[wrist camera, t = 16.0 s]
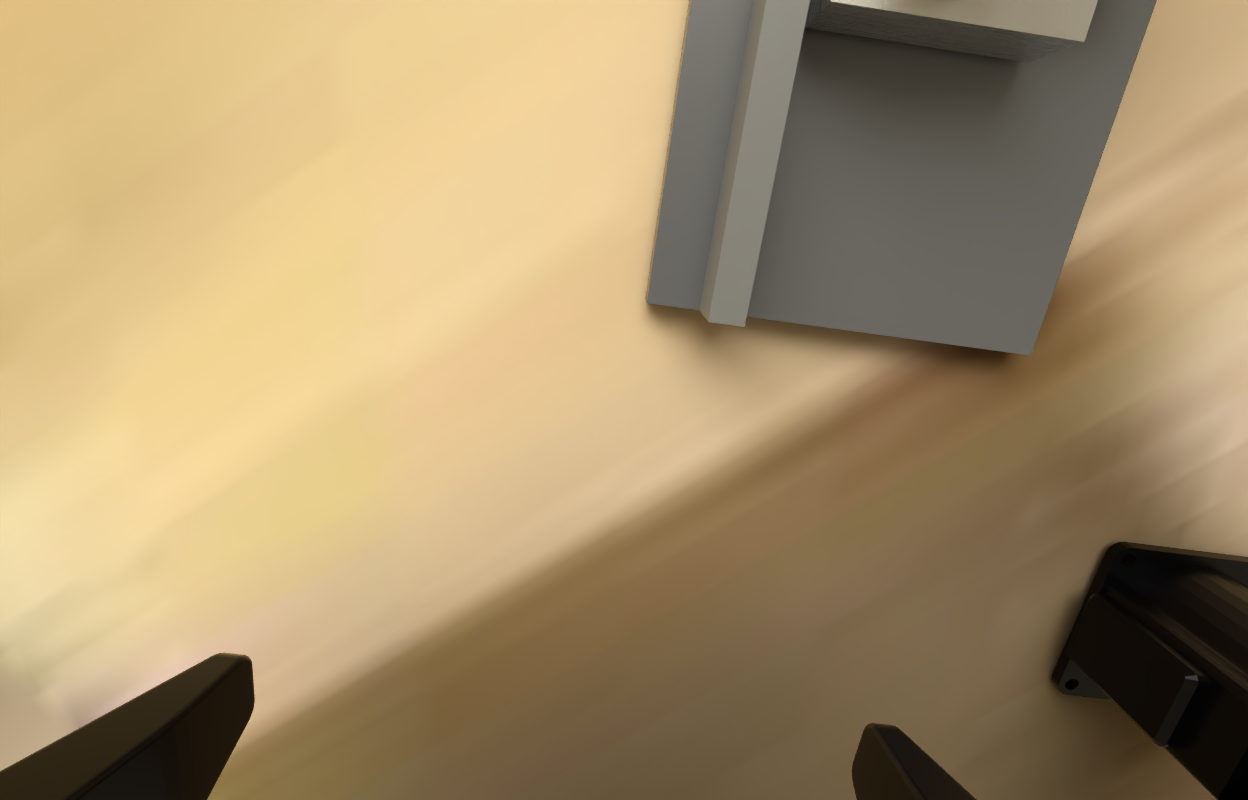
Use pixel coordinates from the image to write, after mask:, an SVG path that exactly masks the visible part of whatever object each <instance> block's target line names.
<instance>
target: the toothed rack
mask: <svg viewBox="0 0 1248 800" xmlns="http://www.w3.org/2000/svg"><path fill="white" fill-rule="evenodd" d="M1097 2H1098V0H810V5H809V10H808V15H807V20H806V25H805V28H811V29H818V30H824V31H830V32H837V33H843V34H849V35H856V36H862V37H868V38H875V39H881V40H887V41H894V42H900V43H906V44H913V45H919V46H926V47H932V48H938V49H945V50H951V51H957V52H964V53H970V54H976V55H983V56H989V57H995V58H1002V59H1008V60H1014V61H1021V62H1027V63H1028V62H1031V61H1034V60H1036V59H1039V58H1042V57H1045V56H1047V55H1050V54H1053V53H1055V52H1058V51H1061V50H1064V49H1066V48H1069V47H1072V46H1075V45H1077V44H1080V43H1083V42H1084V41H1085V38H1086V35H1087V32H1088V29H1089V26H1090V23H1091V20H1092V17H1093V14H1094V11H1095V8H1096V5H1097Z"/></svg>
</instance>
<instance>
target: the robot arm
mask: <svg viewBox="0 0 1248 800" xmlns="http://www.w3.org/2000/svg"><path fill="white" fill-rule="evenodd" d="M1125 555H1126V556H1125ZM1123 556H1125V557H1124V558H1123ZM1122 558H1123V559H1122ZM1051 680H1052V683H1053V684H1054V685H1055V686H1056V687H1057V688H1058V689H1059V691H1061V692H1062V693H1063V694H1066V695H1074V696H1083V697H1092V698H1101V699H1110V700H1112V701H1113V702H1114V703H1115V704H1116V705H1117V706H1118V707H1119V708H1120V709H1121V710H1122V711H1123V712H1124V713H1125V714H1126V715H1127V716H1128V717H1129V718H1130V719H1131V720H1132V721H1133V722H1134V723H1135V724H1136V725H1137V726H1138V727H1139V728H1140V729H1141V730H1142V731H1143V732H1144V733H1145V734H1146V735H1147V736H1148V737H1149V738H1150V739H1151V740H1152V741H1153V742H1154V743H1156V744H1157V745H1158V746H1163V747H1164V748H1165V749H1166V750H1167V751H1168V752H1169V753H1170V754H1171V755H1172V756H1173V757H1174V758H1175V759H1176V760H1177V761H1178V762H1179V763H1180V764H1181V765H1182V766H1183V767H1184V768H1185V769H1186V770H1187V771H1188V772H1189V773H1191V774H1192V775H1193V776H1194V777H1195V778H1196V779H1197V780H1198V781H1199V782H1200V783H1201V784H1202V785H1203V786H1204V787H1205V788H1206V789H1207V790H1208V791H1209V792H1210V793H1211V794H1212V795H1213V796H1214V797H1215V798H1216V799H1217V800H1248V557H1242V556H1234V555H1226V554H1218V553H1210V552H1202V551H1194V550H1185V549H1177V548H1169V547H1161V546H1153V545H1145V544H1137V543H1129V542H1118V543H1116V544H1113V545H1112V546H1111V547H1110V548H1109V549H1108V550H1107V552H1106V553H1105V556H1104V558H1103V560H1102V563H1101V565H1100V567H1099V569H1098V572H1097V574H1096V576H1095V578H1094V581H1093V583H1092V585H1091V588H1090V590H1089V592H1088V594H1087V597H1086V599H1085V601H1084V604H1083V606H1082V608H1081V610H1080V613H1079V615H1078V617H1077V619H1076V622H1075V624H1074V626H1073V629H1072V631H1071V633H1070V635H1069V638H1068V640H1067V642H1066V645H1065V647H1064V649H1063V651H1062V654H1061V656H1060V658H1059V660H1058V663H1057V665H1056V667H1055V670H1054V672H1053V674H1052V678H1051ZM254 700H255V698H254V683H253V669H252V661H251V659H250V658H249V657H248V656H246V655H239V654H230V653H219V654H216V655H213V656H211V657H209V658H208V659H206V660H204V661H202V662H200V663H198V664H197V665H195V666H193V667H191V668H189V669H187V670H186V671H184V672H182V673H180V674H178V675H176V676H175V677H173V678H171V679H169V680H167V681H165V682H163V683H162V684H160V685H158V686H156V687H154V688H152V689H151V690H149V691H147V692H145V693H143V694H141V695H140V696H138V697H136V698H134V699H132V700H130V701H129V702H127V703H125V704H123V705H121V706H119V707H118V708H116V709H114V710H112V711H110V712H108V713H107V714H105V715H103V716H101V717H99V718H97V719H95V720H94V721H92V722H90V723H88V724H86V725H84V726H83V727H81V728H79V729H77V730H75V731H73V732H72V733H70V734H68V735H66V736H64V737H62V738H61V739H59V740H57V741H55V742H53V743H52V744H50V745H48V746H46V747H44V748H42V749H40V750H39V751H37V752H35V753H33V754H31V755H29V756H28V757H26V758H24V759H22V760H20V761H19V762H16V763H15V764H13V765H11V766H9V767H7V768H5V769H4V770H2V771H0V800H207V799H208V797H209V795H210V793H211V791H212V789H213V787H214V785H215V784H216V782H217V780H218V778H219V776H220V774H221V772H222V770H223V768H224V767H225V765H226V763H227V761H228V759H229V757H230V755H231V753H232V751H233V750H234V748H235V746H236V744H237V742H238V740H239V738H240V736H241V734H242V733H243V731H244V729H245V727H246V725H247V723H248V721H249V719H250V717H251V714H252V712H253V708H254ZM852 780H853V785H854V789H855V794H856V798H857V800H976V799H975V798H974V797H973V796H972V795H971V794H970V793H969V792H968V791H967V790H965V789H964V788H963V787H962V786H961V785H960V784H959V783H958V782H957V781H956V780H955V779H953V778H952V777H951V776H950V775H949V774H948V773H947V772H946V771H945V770H944V769H943V768H942V767H940V766H939V765H938V764H937V763H936V762H935V761H934V760H933V759H932V758H931V757H930V756H929V755H927V754H926V753H925V752H924V751H923V750H922V749H921V748H920V747H919V746H918V745H917V744H915V743H914V742H913V741H912V740H911V739H910V738H909V737H908V736H907V735H906V734H905V733H904V732H902V731H901V730H900V729H899V728H897V727H896V726H893V725H885V724H876V723H870V724H868V725H867V726H866V727H865V729H864V731H863V734H862V737H861V740H860V743H859V746H858V749H857V752H856V755H855V758H854V761H853V765H852Z"/></svg>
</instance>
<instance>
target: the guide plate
mask: <svg viewBox="0 0 1248 800" xmlns="http://www.w3.org/2000/svg"><path fill="white" fill-rule="evenodd" d="M1156 1H1157V0H1098V2H1097V5H1096V8H1095V11H1094V14H1093V17H1092V20H1091V23H1090V26H1089V29H1088V32H1087V35H1086V38H1085V41H1084V42H1083V43H1080V44H1077V45H1075V46H1072V47H1069V48H1066V49H1064V50H1061V51H1058V52H1055V53H1053V54H1050V55H1047V56H1045V57H1042V58H1039V59H1036V60H1034V61H1031V62H1028V63H1027V62H1021V61H1014V60H1008V59H1002V58H995V57H989V56H983V55H976V54H970V53H964V52H957V51H951V50H945V49H938V48H932V47H926V46H919V45H913V44H906V43H900V42H894V41H887V40H881V39H875V38H868V37H862V36H856V35H849V34H843V33H837V32H830V31H824V30H818V29H811V28H805V25H806V20H807V15H808V10H809V5H810V0H689V5H688V12H687V19H686V26H685V33H684V39H683V46H682V53H681V60H680V67H679V74H678V80H677V87H676V94H675V101H674V108H673V115H672V121H671V128H670V135H669V142H668V149H667V156H666V163H665V169H664V176H663V183H662V190H661V197H660V204H659V210H658V217H657V224H656V231H655V238H654V245H653V251H652V258H651V265H650V272H649V279H648V286H647V292H646V302H647V303H649V304H657V305H664V306H671V307H679V308H686V309H693V310H699V311H700V312H701V313H702V315H703V316H704V317H705V319H706V320H707V321H708V322H711V323H718V324H726V325H733V326H741V327H745V323H746V318H747V317H752V318H759V319H767V320H774V321H781V322H789V323H796V324H803V325H811V326H818V327H825V328H833V329H840V330H847V331H855V332H862V333H869V334H877V335H884V336H891V337H899V338H906V339H913V340H921V341H928V342H935V343H943V344H950V345H957V346H965V347H972V348H979V349H987V350H994V351H1001V352H1009V353H1016V354H1023V355H1031V354H1032V351H1033V348H1034V345H1035V343H1036V340H1037V337H1038V334H1039V331H1040V329H1041V326H1042V323H1043V320H1044V317H1045V314H1046V312H1047V309H1048V306H1049V303H1050V300H1051V297H1052V295H1053V292H1054V289H1055V286H1056V283H1057V281H1058V278H1059V275H1060V272H1061V269H1062V266H1063V264H1064V261H1065V258H1066V255H1067V252H1068V249H1069V247H1070V244H1071V241H1072V238H1073V235H1074V232H1075V230H1076V227H1077V224H1078V221H1079V218H1080V216H1081V213H1082V210H1083V207H1084V204H1085V201H1086V199H1087V196H1088V193H1089V190H1090V187H1091V184H1092V182H1093V179H1094V176H1095V173H1096V170H1097V167H1098V165H1099V162H1100V159H1101V156H1102V153H1103V151H1104V148H1105V145H1106V142H1107V139H1108V136H1109V134H1110V131H1111V128H1112V125H1113V122H1114V119H1115V117H1116V114H1117V111H1118V108H1119V105H1120V103H1121V100H1122V97H1123V94H1124V91H1125V88H1126V86H1127V83H1128V80H1129V77H1130V74H1131V71H1132V69H1133V66H1134V63H1135V60H1136V57H1137V54H1138V52H1139V49H1140V46H1141V43H1142V40H1143V38H1144V35H1145V32H1146V29H1147V26H1148V23H1149V21H1150V18H1151V15H1152V12H1153V9H1154V6H1155V4H1156Z"/></svg>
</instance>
